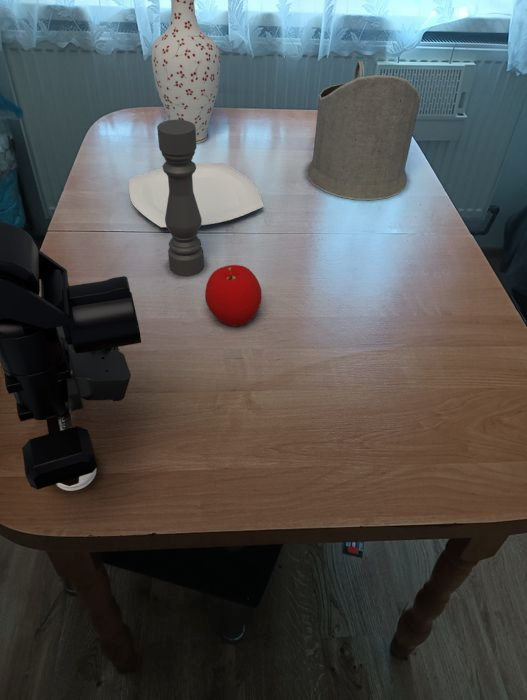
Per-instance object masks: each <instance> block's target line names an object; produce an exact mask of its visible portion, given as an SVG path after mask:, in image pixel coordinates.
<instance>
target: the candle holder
mask: <svg viewBox="0 0 527 700" xmlns="http://www.w3.org/2000/svg"><path fill="white" fill-rule="evenodd" d="M156 130H157V139H158V149H159V151H160V152H161V155H162V157H163V158H164V160H165V162H164V163H163V164H162V168H163V171H164V173H166V174H167V176H168V183H169V196H168V202H167V209H166V215H165V223H166V226H167V228H166V229H167V231H168V232H169V233H170V235H171V238H170V240H169V242H168V247H169V248H168V250H167V254H168V255H167V257H168V262H169V263H168V264H169V269H170V271H171V273H172V274H174V275H177V276H179V277H192V276H193V277H194V276H196V275H199V274H200V273H201V272H203V270H204V268H205V257H204V256H205V255H204V249H203V247H202V245H203V244H202V241H201V238H199V237H198V232H199V230H200V228H201V227H202V226H201V223H202V219H201V215H200V212H199V209H198V206H197V202H196V199H195V196H194V192H193V180H192V175H193V173H194V172H195V170H196V165H195V163H196V162H194V161H193V159H194V156H195V154H196V150H197V148H198V147H197V144H196V127H195V125H194V124H193V123H191V122H189V121H185V120H168V119H167V120H164V121H162V122H160V123H158V125H157V126H156Z"/></svg>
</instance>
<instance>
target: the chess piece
mask: <svg viewBox="0 0 527 700" xmlns="http://www.w3.org/2000/svg"><path fill="white" fill-rule="evenodd" d="M58 420H59V419H58ZM59 425H60V430H63V428H62V424H61V419H60V420H59ZM96 474H97V468H96V469H95V470H94V472H93V473H90V474H86V475H83V476H80V477H79V483H78V484H75V485H72V486H67V485H64V484H61V483H57V484H56V487H58V488H59V489H61V490H64V491H68V492H75V491H78V490H81V489H83V488H85V487H87V486H89V484H90V483H91V482H92V481H94V479H95V477H96V476H97V475H96Z"/></svg>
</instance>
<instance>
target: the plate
mask: <svg viewBox="0 0 527 700" xmlns="http://www.w3.org/2000/svg"><path fill="white" fill-rule="evenodd" d="M194 163H195V165H196V170H195V172H194V173H193V175H192V180H193V192H194V196H195V199H196V202H197V206H198V209H199V212H200V215H201V219H202V223H201V226H200V227H205V226H212V225H218V224H222V223H225V222H229V221H233V220H235V219H239V218H242V217H244V216H246V215H250V214H251V213H254V212H256V211H258V210H260V209H263V208H264V203H263V199H262V196H261V193H260V191H259V189H258V187H257V186H256V184H255V183H254V181H253V180H252V179H250V178H249V177H248V176H246V175H245V174H243V173H242V172H240V170H239V171H238V170H237V169H235V168H233V167H232V166H230V165H228V164H226V163H224V162H194ZM128 193H129V198H130V201H131V204H132V205H133V206H134V208H135V209H136V210H137V211H138V212H139V213H140V214H141V215H142V216H144V217H145V218H146V219H147V220H149V221H150V222H151V223H153V224H155V225H156V226H157V227H159V228H160V229H167V226H166V223H165V215H166V209H167V202H168V196H169V183H168V176H167V174H166V173H164V171H163V167H161V168H157V169H153V170H151V171H147V172H144V173H141V174H138V175H135V176H132V177H130V178H129V181H128Z"/></svg>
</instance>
